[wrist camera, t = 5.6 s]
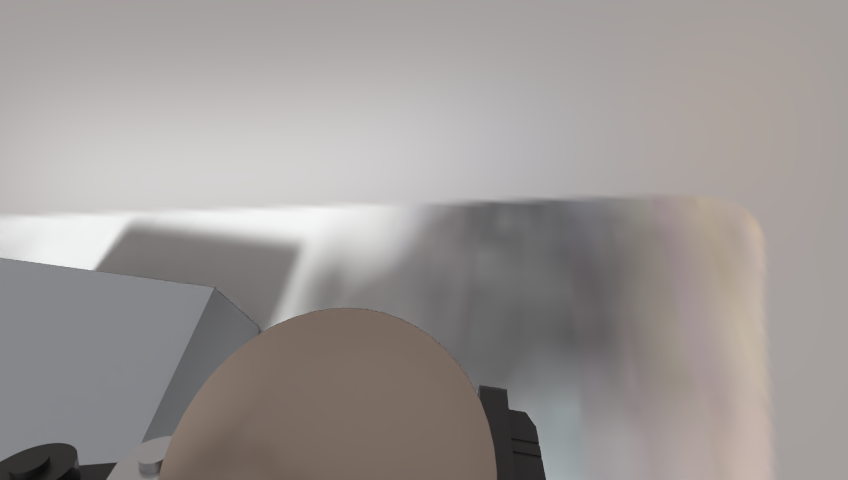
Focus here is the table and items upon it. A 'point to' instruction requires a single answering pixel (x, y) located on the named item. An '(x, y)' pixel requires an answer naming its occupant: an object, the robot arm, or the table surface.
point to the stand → (105, 356)
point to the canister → (335, 407)
